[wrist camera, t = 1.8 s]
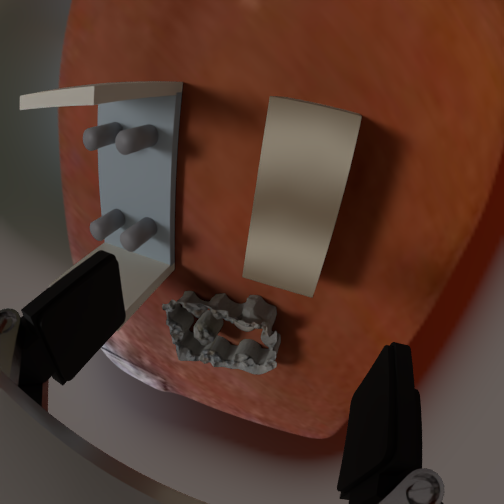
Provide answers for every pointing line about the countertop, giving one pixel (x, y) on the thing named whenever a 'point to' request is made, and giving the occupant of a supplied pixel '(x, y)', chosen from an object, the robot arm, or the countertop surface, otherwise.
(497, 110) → the countertop surface
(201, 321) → the egg carton
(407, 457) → the robot arm
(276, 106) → the beige wavy block
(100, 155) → the peg stand
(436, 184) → the countertop surface
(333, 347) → the countertop surface
